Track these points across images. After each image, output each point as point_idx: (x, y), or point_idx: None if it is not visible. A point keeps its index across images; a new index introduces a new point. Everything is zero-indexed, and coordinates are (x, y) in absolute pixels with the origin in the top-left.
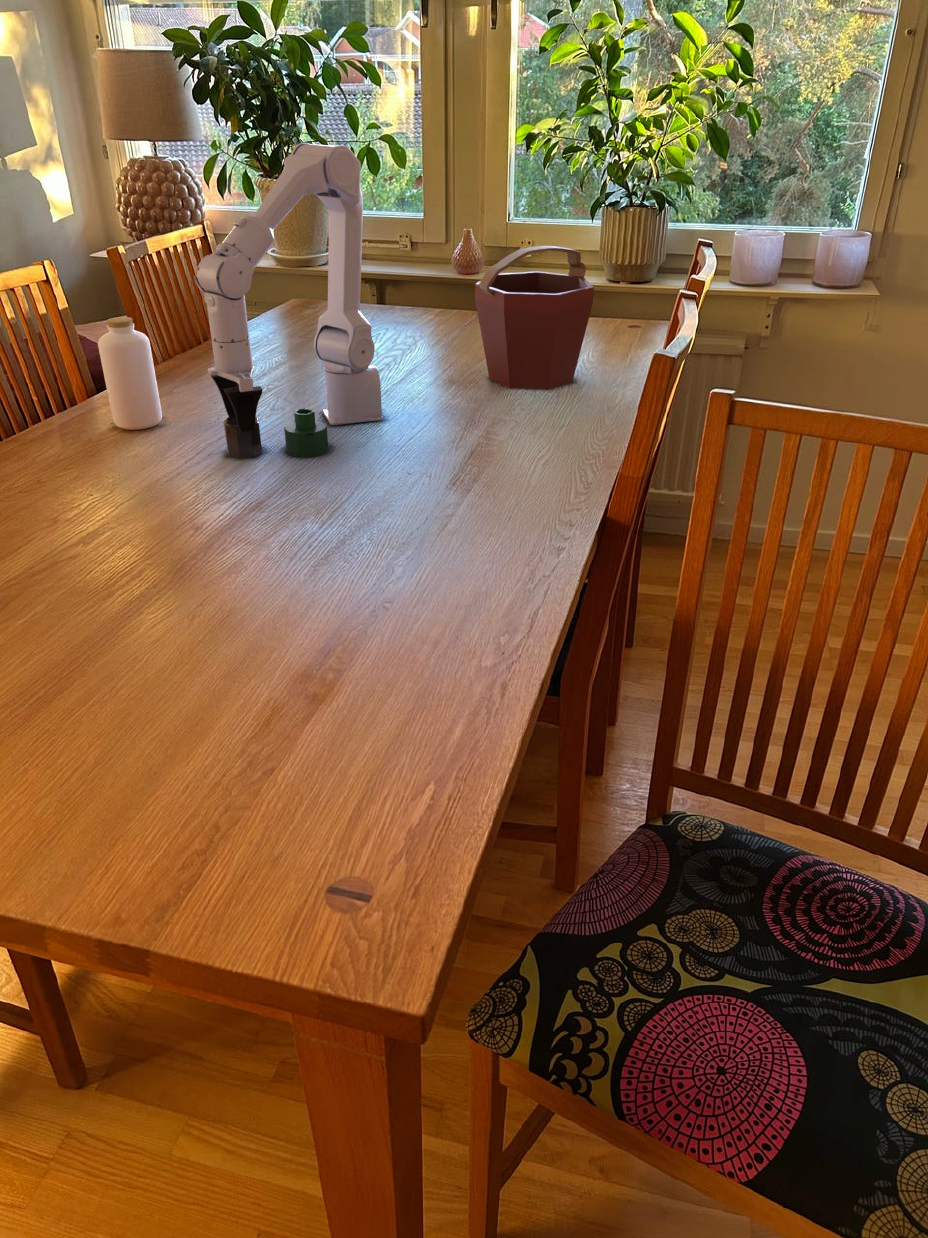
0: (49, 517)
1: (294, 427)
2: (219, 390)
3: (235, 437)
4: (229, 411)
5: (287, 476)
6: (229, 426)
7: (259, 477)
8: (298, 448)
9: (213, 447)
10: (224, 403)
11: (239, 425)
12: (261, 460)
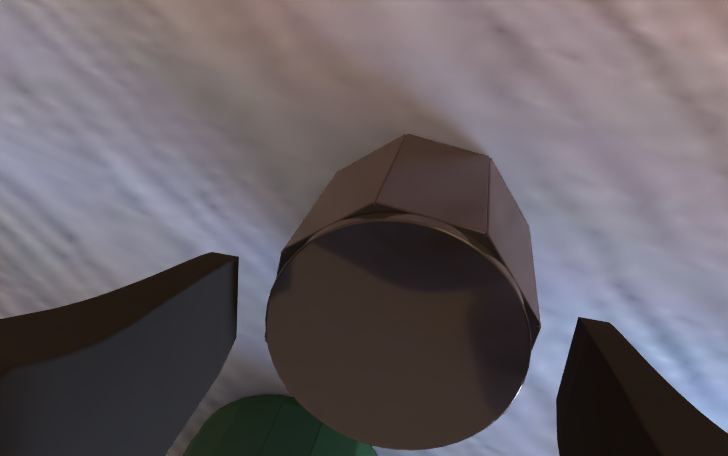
0: None
1: None
2: (711, 443)
3: (314, 213)
4: (585, 350)
5: (5, 262)
6: (332, 224)
7: (35, 149)
8: (197, 438)
9: (629, 113)
10: (620, 369)
11: (179, 266)
12: (257, 255)
